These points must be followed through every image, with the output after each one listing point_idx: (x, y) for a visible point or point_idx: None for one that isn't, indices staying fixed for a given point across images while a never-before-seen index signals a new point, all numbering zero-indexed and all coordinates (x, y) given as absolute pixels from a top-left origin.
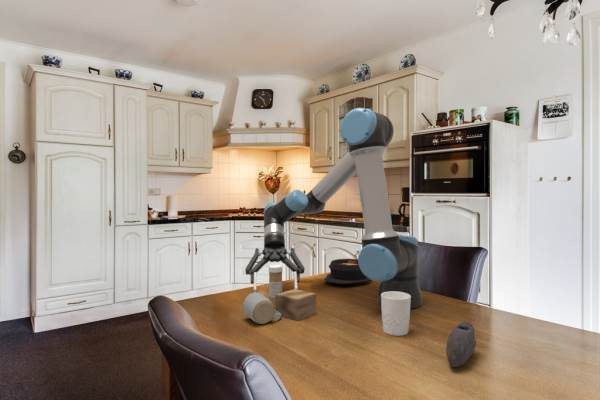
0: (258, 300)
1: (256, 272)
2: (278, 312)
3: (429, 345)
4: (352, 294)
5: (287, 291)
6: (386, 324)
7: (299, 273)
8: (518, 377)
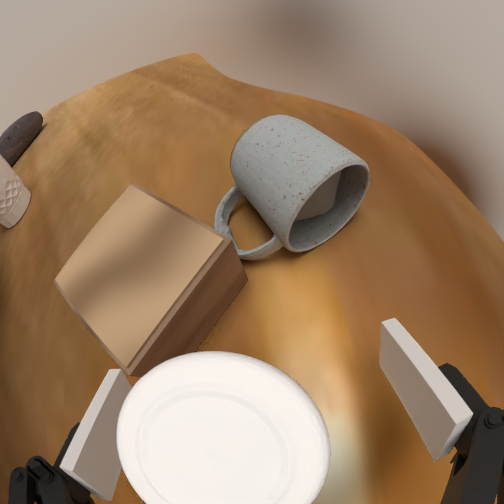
0: (286, 117)
1: (450, 480)
2: None
3: (18, 173)
4: None
5: (163, 307)
6: (21, 184)
7: (55, 463)
8: None
